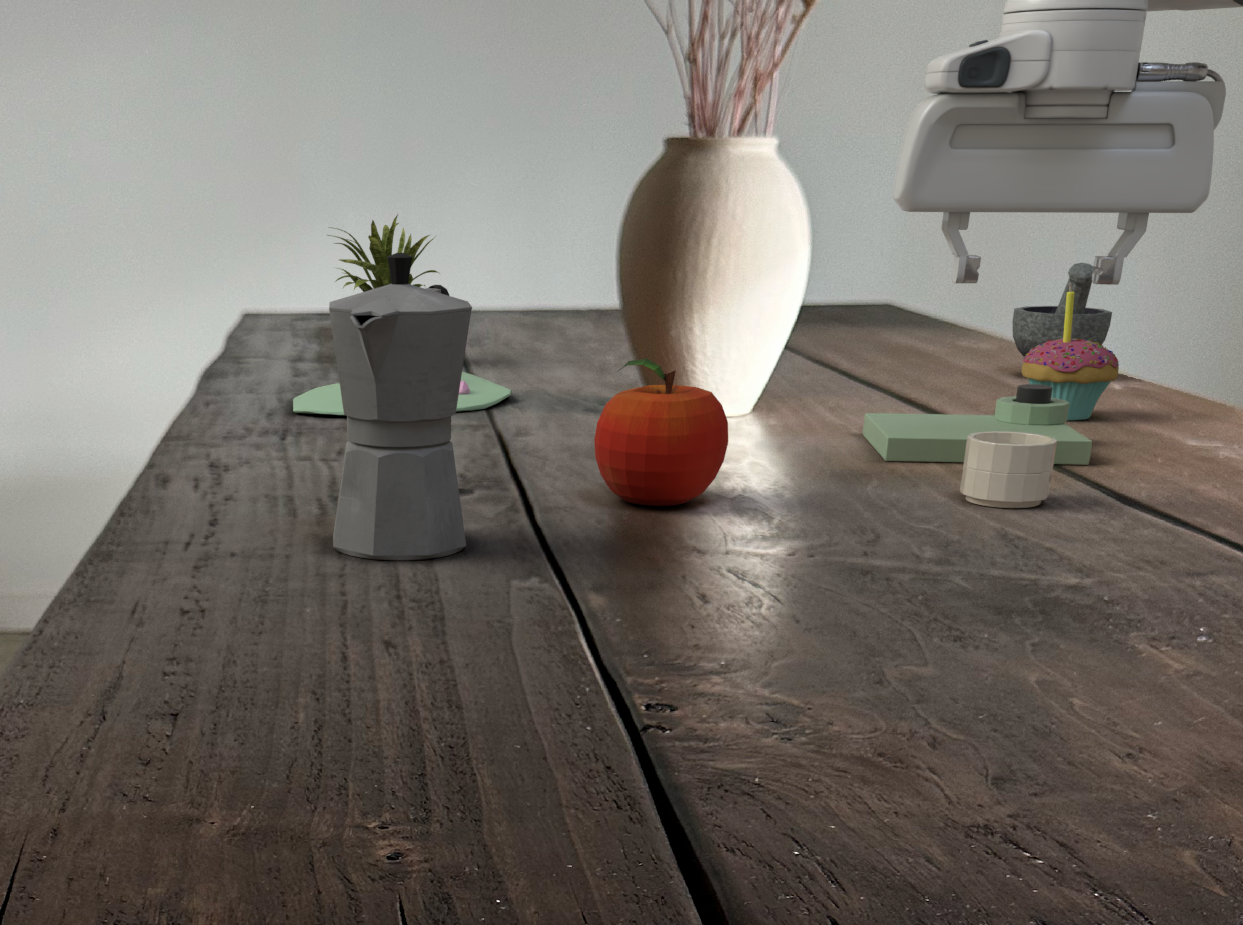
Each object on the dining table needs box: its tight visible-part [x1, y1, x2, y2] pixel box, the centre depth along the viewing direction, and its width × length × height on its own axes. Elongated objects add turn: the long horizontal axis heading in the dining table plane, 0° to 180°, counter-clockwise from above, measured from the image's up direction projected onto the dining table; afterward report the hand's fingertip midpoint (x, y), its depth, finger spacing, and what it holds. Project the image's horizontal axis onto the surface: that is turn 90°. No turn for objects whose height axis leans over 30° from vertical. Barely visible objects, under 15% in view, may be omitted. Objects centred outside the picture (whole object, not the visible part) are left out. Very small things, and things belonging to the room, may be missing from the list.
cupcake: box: [1021, 283, 1120, 421], centre depth 157 cm, size 9×8×12 cm
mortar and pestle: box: [1011, 262, 1113, 376], centre depth 182 cm, size 11×9×12 cm
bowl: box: [959, 431, 1057, 509], centre depth 123 cm, size 6×6×4 cm
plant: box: [292, 371, 513, 416], centre depth 168 cm, size 25×21×9 cm
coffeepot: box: [328, 252, 473, 561], centre depth 109 cm, size 15×9×18 cm, turn 159°
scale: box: [862, 395, 1093, 466], centre depth 143 cm, size 16×13×4 cm
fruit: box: [593, 358, 729, 507], centre depth 122 cm, size 10×10×10 cm
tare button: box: [1015, 383, 1052, 404], centre depth 145 cm, size 3×3×2 cm
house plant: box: [327, 214, 442, 292], centre depth 193 cm, size 14×14×16 cm
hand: (1034, 283), depth 118 cm, fingers open, 8 cm apart
